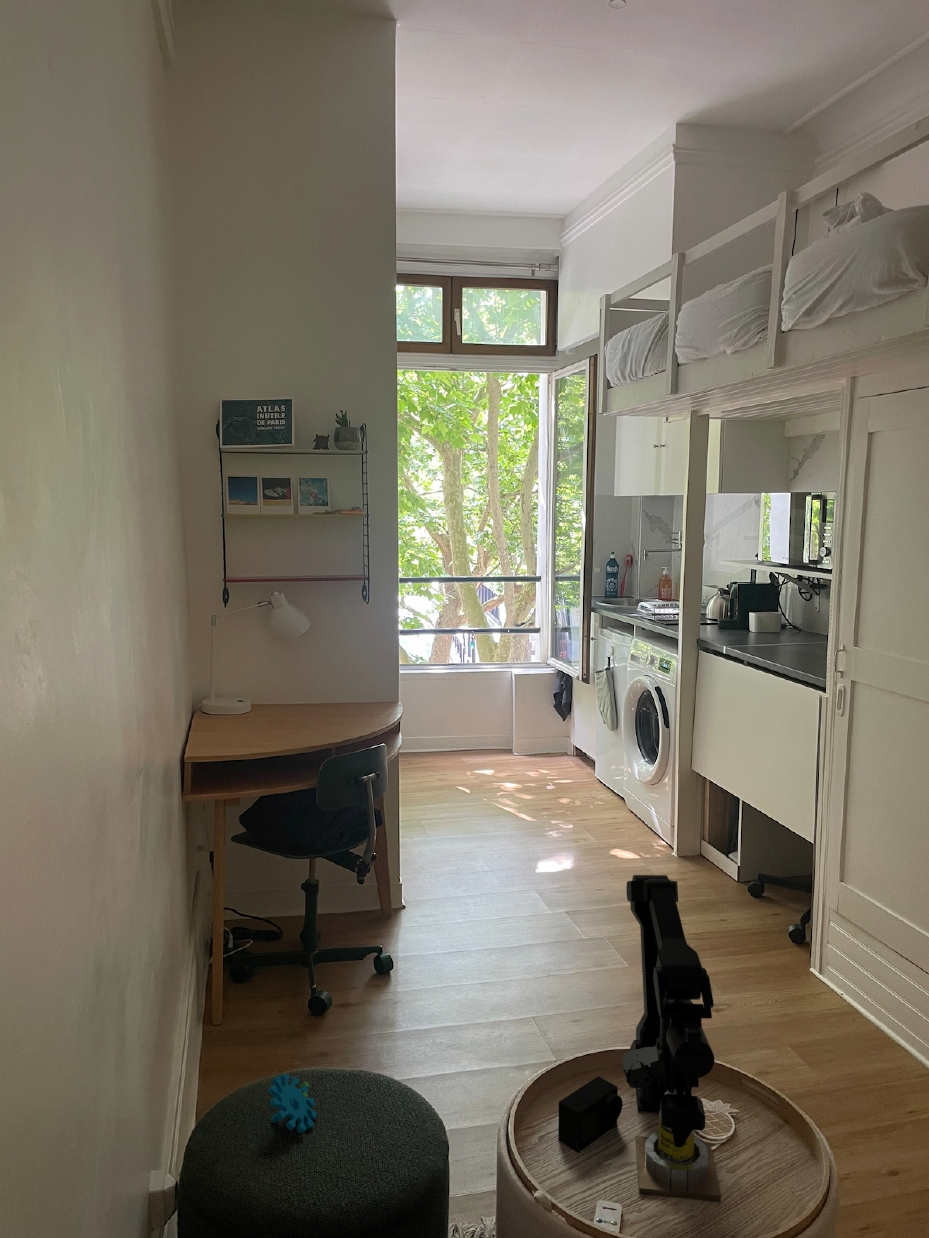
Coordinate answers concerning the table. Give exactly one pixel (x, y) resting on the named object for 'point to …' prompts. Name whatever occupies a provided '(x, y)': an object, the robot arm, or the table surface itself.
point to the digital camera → (588, 1113)
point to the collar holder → (676, 1172)
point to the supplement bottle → (668, 1147)
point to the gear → (292, 1103)
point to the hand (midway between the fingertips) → (676, 1134)
